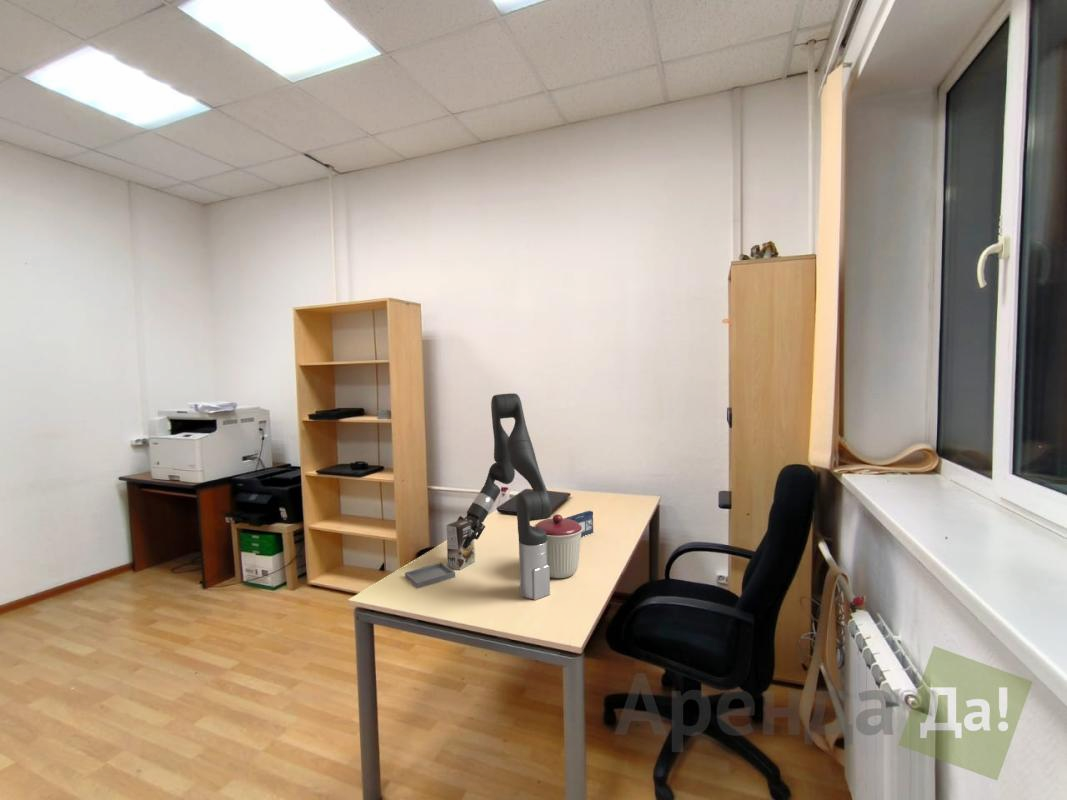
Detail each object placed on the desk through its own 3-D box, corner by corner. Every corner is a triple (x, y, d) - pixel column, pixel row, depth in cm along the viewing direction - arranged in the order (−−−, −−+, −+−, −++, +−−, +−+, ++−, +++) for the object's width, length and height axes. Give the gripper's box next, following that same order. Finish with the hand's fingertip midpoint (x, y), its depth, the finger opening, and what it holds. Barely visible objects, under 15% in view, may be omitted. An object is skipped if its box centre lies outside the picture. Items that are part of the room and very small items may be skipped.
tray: (455, 577, 166) (455, 572, 166) (417, 588, 157) (416, 583, 157) (441, 567, 175) (441, 562, 175) (405, 577, 166) (404, 572, 166)
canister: (526, 567, 172) (525, 511, 171) (570, 559, 179) (569, 505, 178) (545, 587, 156) (543, 525, 154) (593, 578, 162) (591, 518, 161)
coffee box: (460, 570, 171) (458, 527, 170) (447, 567, 174) (445, 524, 174) (475, 561, 179) (474, 520, 178) (462, 558, 182) (461, 518, 181)
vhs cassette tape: (564, 543, 196) (563, 520, 195) (559, 542, 198) (559, 519, 198) (594, 533, 207) (593, 511, 207) (589, 532, 210) (589, 510, 209)
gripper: (463, 499, 186) (440, 535, 178) (487, 505, 176) (463, 544, 168) (474, 509, 190) (452, 545, 182) (498, 516, 180) (475, 554, 172)
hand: (457, 544), depth 175 cm, fingers closed on coffee box, 7 cm apart
